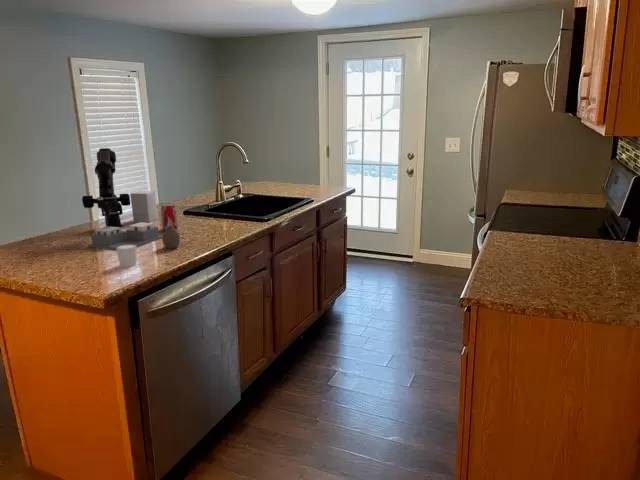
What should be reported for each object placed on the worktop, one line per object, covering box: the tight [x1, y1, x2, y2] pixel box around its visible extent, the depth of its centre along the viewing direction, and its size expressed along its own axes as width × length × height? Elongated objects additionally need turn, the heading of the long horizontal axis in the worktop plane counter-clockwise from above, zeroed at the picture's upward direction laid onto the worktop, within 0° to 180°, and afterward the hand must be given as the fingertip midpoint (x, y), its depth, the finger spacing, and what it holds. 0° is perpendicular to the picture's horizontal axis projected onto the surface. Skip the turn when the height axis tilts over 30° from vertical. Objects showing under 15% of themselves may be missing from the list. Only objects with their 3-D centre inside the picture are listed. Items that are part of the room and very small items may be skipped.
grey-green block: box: [94, 226, 122, 236], centre depth 207 cm, size 7×7×6 cm
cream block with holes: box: [128, 222, 155, 231], centre depth 214 cm, size 7×7×6 cm
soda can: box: [160, 202, 179, 231], centre depth 232 cm, size 7×7×12 cm
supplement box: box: [129, 190, 158, 223], centre depth 250 cm, size 9×9×15 cm
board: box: [87, 226, 163, 251], centre depth 211 cm, size 20×23×5 cm
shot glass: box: [116, 245, 138, 268], centre depth 179 cm, size 7×7×7 cm
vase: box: [161, 226, 181, 250], centre depth 201 cm, size 7×7×9 cm
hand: (107, 217), depth 209 cm, fingers closed
